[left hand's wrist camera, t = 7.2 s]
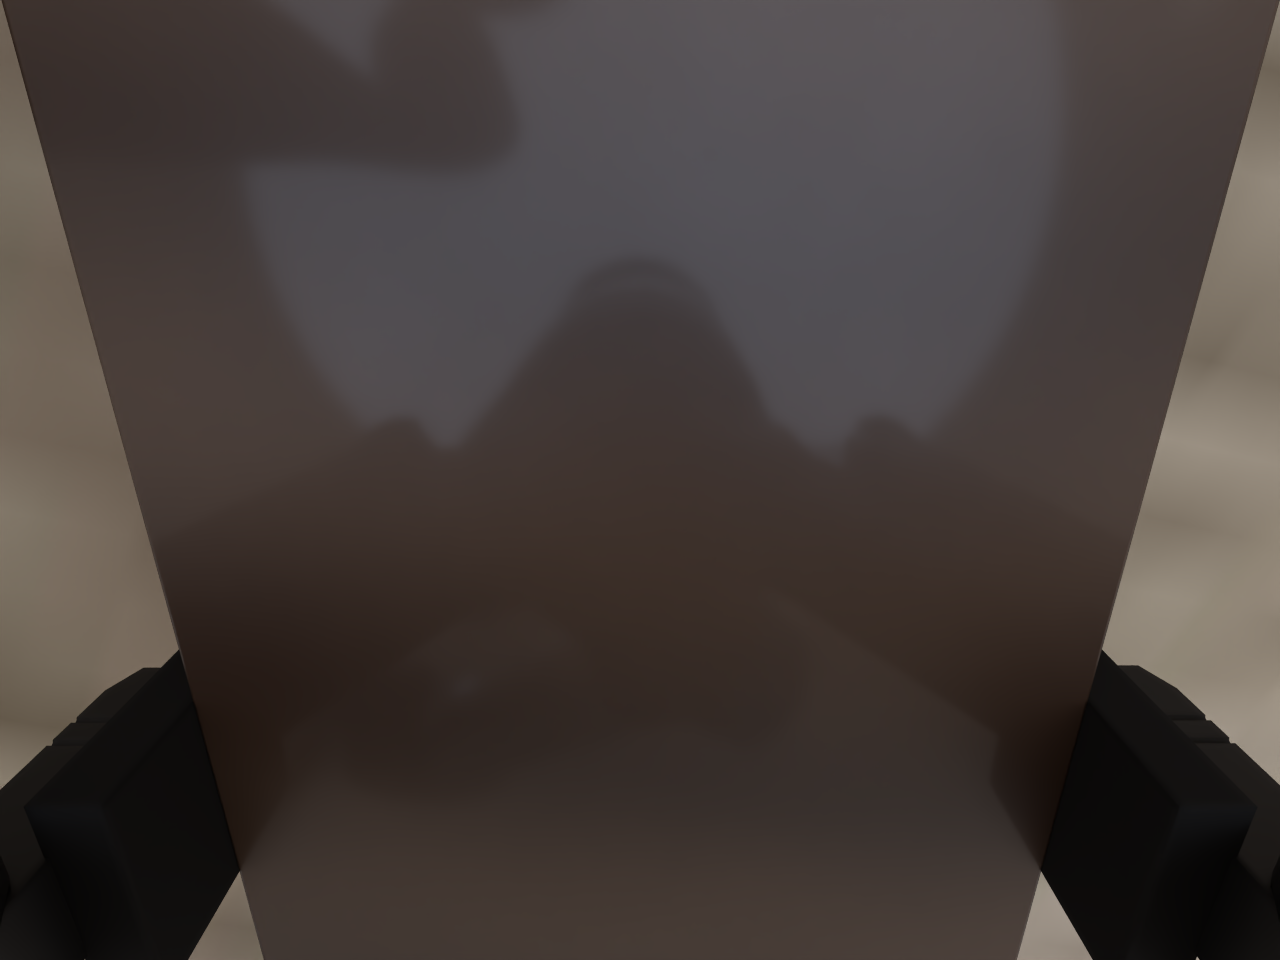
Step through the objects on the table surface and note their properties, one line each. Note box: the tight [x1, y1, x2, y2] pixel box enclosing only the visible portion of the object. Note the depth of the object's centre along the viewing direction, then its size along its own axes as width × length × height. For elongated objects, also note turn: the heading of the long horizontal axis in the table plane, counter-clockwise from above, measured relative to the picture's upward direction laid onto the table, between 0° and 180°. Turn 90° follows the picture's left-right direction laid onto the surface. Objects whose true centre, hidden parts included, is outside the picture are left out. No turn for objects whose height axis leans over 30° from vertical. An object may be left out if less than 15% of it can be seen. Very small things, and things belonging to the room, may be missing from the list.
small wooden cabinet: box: [2, 0, 1280, 960], centre depth 12 cm, size 20×10×12 cm, turn 0°
